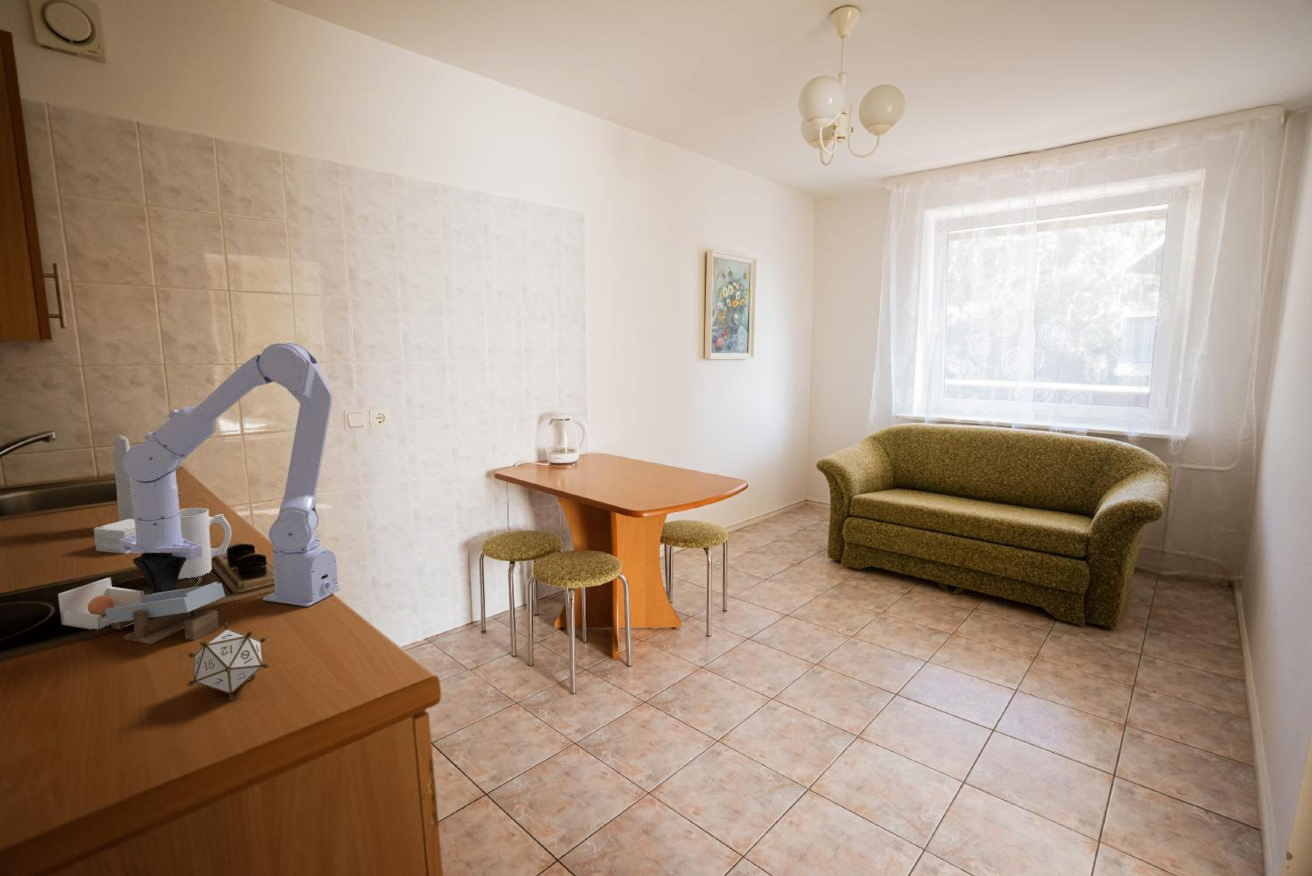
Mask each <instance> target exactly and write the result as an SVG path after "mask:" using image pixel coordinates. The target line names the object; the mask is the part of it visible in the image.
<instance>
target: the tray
mask: <svg viewBox="0 0 1312 876" xmlns="http://www.w3.org/2000/svg"><path fill="white" fill-rule="evenodd" d="M102 595H105V596H109V597H111V598H112V599H113V600H114V602H115V606H114V608H115V607H121V606H128V605H134V604H141V603H143V600H142V596H144V595H145V591H143V590H136V589H129V588H124V587H121V588H120V587H116V586H112V579H111V577H106V578H103V579H100V580H97V581H93V582H91V583H88V584H85V585H82V586H78V587H75V588H73V589H70V590H65V591H63V592H60V593H58V594H57V596H58V597H57V598H58V604H59V613H60V621H61V625H63V626H68V627H75V628H81V629H87V630H92V629H101V628H104V627H106V626H109V625H111V626H112V623H110V624H109V623H108V620H107V617H106V615H104V616H101V615H96V614H91V613H90V612H89V611H88V604H89V602H90V601H91V600H92V599H94V598H95V597H98V596H102ZM109 627H110V626H109ZM106 628H107V627H106ZM104 629H105V628H104ZM101 630H102V629H101Z"/></svg>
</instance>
